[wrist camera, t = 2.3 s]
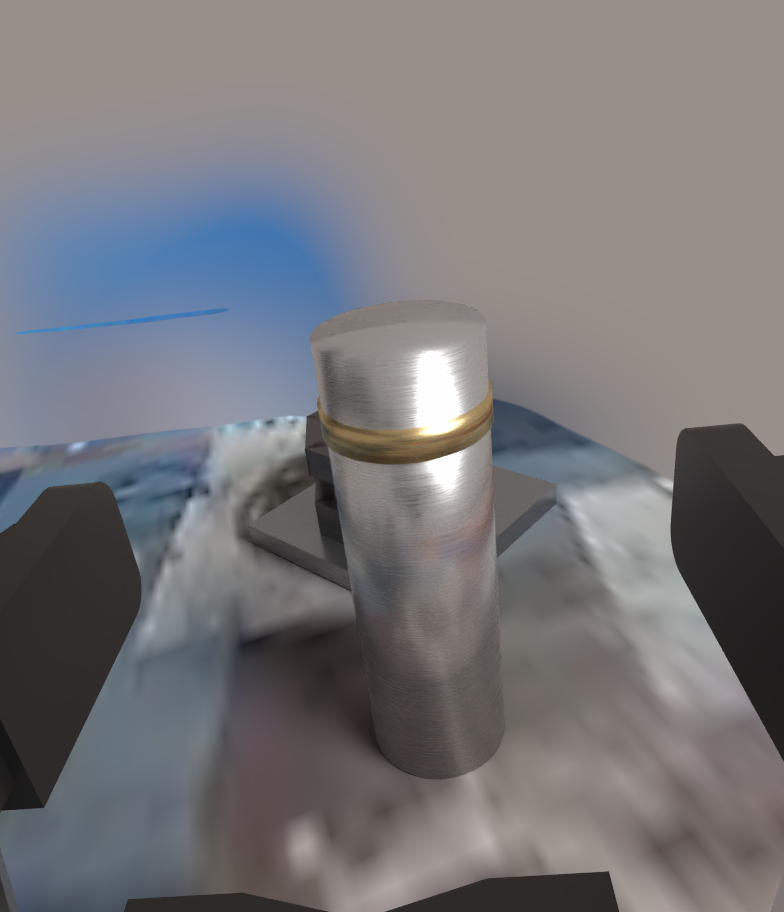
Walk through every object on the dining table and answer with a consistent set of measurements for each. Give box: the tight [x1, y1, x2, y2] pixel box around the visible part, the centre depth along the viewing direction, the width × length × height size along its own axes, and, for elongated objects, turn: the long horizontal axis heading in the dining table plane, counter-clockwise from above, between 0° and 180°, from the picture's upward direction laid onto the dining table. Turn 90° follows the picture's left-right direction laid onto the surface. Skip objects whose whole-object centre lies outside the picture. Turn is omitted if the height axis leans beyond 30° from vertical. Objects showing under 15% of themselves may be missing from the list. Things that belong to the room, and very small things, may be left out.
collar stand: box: [248, 411, 556, 591], centre depth 40 cm, size 12×12×6 cm
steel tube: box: [310, 300, 505, 779], centre depth 25 cm, size 5×5×16 cm
